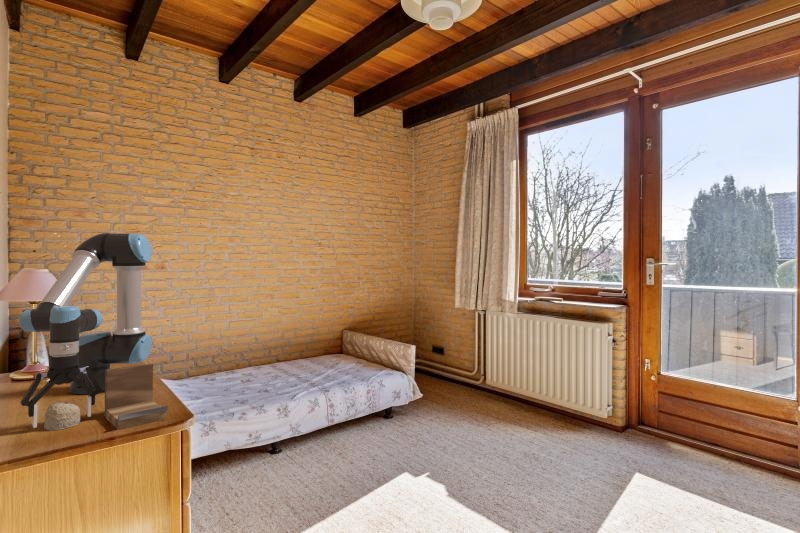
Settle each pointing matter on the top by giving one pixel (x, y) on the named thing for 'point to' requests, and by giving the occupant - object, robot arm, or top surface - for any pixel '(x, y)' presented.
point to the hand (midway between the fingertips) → (62, 420)
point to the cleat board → (131, 397)
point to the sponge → (61, 416)
